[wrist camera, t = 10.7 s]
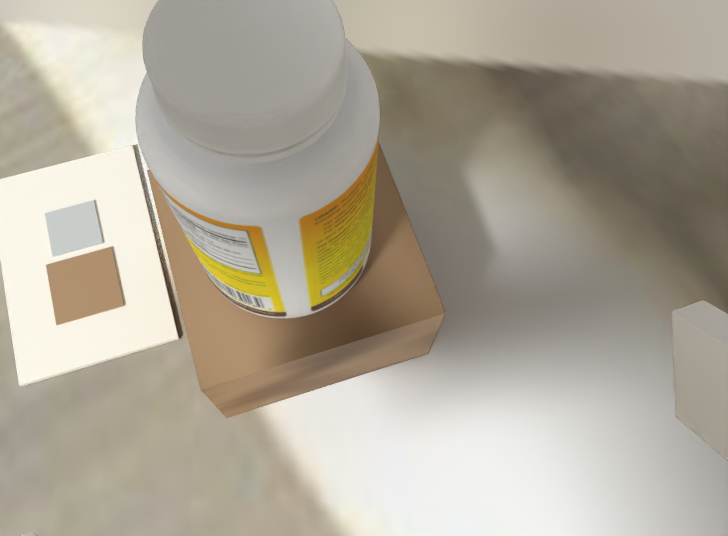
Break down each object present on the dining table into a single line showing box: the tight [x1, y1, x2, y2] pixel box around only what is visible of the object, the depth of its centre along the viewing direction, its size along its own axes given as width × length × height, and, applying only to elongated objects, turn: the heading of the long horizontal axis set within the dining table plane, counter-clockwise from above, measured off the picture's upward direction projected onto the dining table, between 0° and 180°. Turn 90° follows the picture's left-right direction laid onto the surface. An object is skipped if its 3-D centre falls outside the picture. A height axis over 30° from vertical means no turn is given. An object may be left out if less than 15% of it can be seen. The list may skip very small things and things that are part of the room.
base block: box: [147, 142, 445, 418], centre depth 25 cm, size 8×8×5 cm
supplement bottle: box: [136, 0, 380, 318], centre depth 18 cm, size 6×6×10 cm
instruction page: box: [0, 146, 179, 386], centre depth 28 cm, size 6×9×1 cm, turn 18°
